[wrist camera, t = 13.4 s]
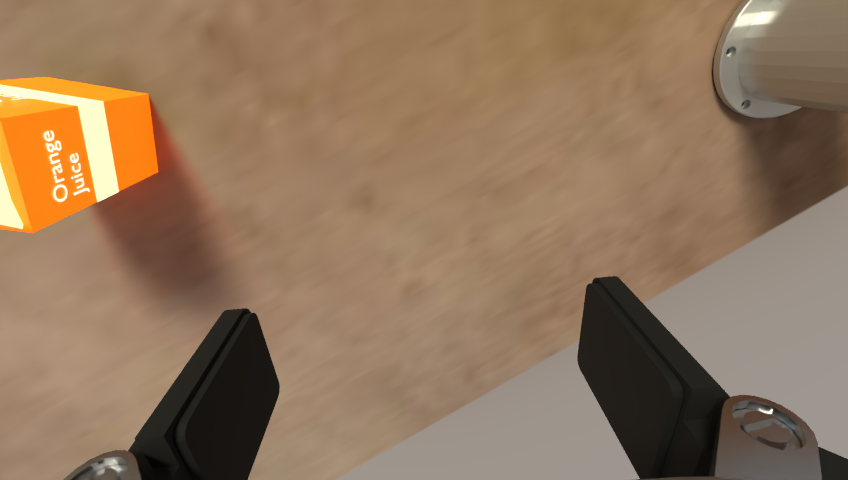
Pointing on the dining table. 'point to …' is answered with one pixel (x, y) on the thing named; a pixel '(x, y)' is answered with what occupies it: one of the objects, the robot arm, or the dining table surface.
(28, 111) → the orange juice
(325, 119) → the dining table surface
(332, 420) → the dining table surface
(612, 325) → the robot arm
